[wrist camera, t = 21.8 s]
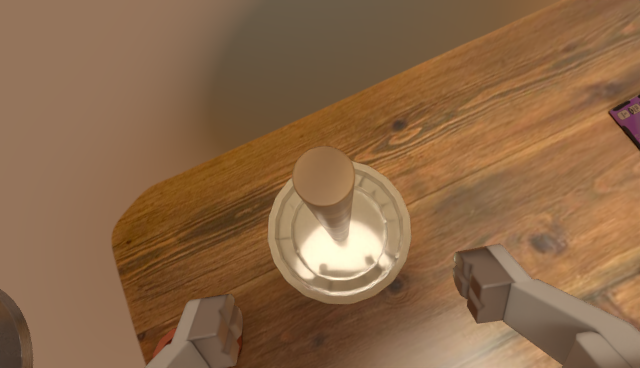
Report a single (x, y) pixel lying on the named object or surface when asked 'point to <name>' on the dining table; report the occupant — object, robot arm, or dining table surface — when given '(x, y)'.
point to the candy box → (629, 117)
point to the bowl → (342, 242)
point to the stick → (326, 187)
